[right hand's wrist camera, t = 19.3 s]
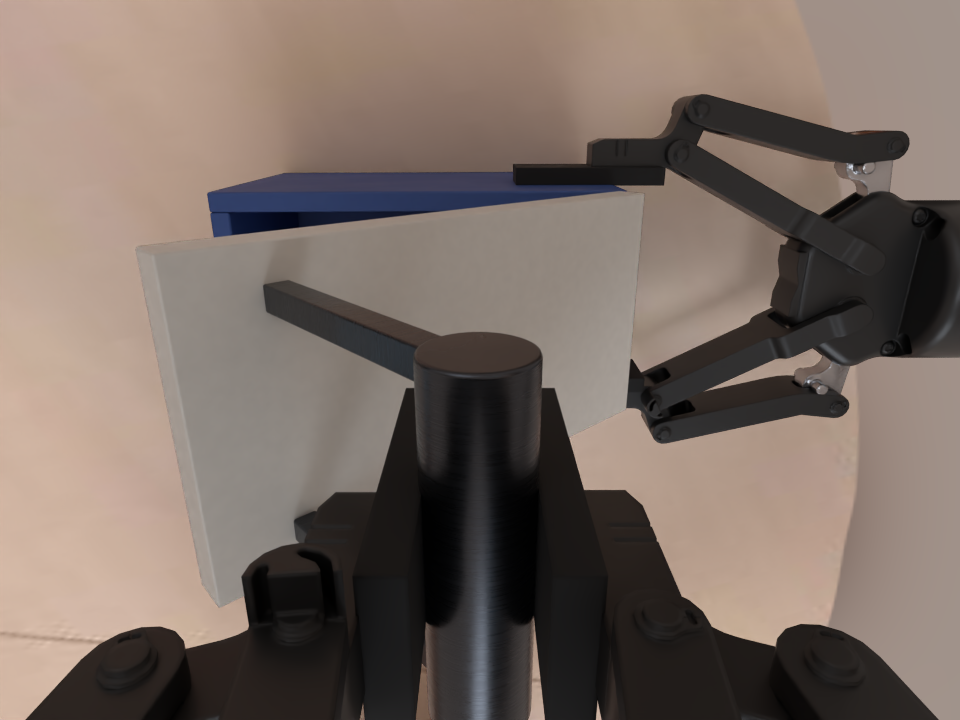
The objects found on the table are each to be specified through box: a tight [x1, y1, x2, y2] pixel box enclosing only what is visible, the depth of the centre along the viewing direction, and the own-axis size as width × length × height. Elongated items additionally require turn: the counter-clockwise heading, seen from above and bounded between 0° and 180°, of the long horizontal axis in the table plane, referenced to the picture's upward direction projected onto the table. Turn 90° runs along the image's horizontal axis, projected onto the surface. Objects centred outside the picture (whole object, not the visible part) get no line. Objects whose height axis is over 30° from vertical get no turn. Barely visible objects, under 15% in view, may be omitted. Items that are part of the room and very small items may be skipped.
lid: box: [136, 191, 645, 720], centre depth 18 cm, size 18×9×9 cm
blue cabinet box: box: [207, 172, 627, 237], centre depth 32 cm, size 17×9×11 cm, turn 90°
